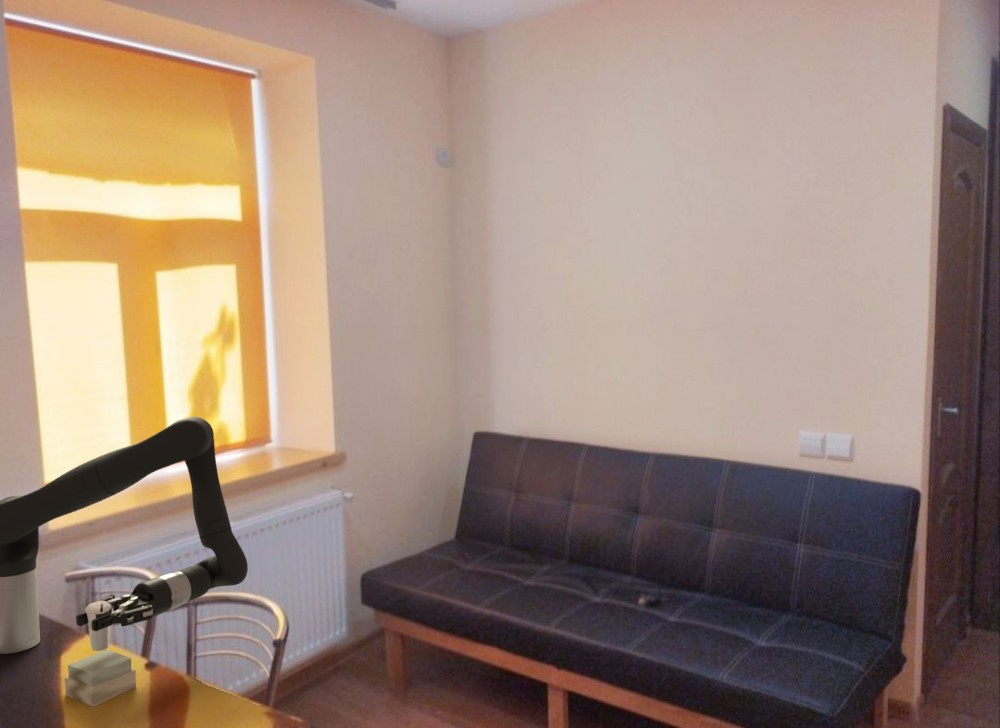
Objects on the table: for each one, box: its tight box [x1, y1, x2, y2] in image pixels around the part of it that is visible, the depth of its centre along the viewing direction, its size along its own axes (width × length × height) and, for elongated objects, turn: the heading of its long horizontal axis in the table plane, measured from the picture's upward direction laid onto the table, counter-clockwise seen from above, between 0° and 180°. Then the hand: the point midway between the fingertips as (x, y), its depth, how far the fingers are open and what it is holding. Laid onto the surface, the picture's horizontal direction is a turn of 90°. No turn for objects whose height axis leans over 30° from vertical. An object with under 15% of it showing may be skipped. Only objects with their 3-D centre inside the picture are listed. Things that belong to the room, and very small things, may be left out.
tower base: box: [64, 648, 137, 708], centre depth 156 cm, size 9×9×6 cm
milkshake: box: [84, 600, 111, 652], centre depth 155 cm, size 4×5×10 cm
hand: (85, 623), depth 152 cm, fingers closed on milkshake, 4 cm apart
